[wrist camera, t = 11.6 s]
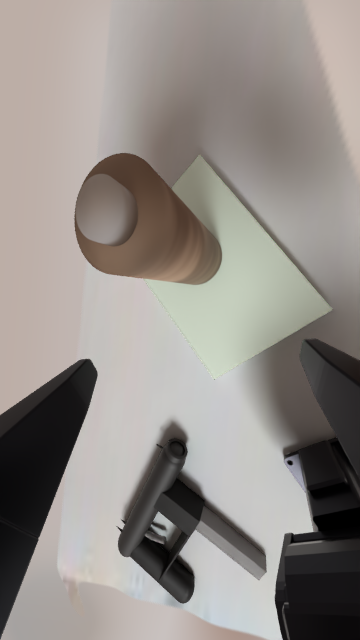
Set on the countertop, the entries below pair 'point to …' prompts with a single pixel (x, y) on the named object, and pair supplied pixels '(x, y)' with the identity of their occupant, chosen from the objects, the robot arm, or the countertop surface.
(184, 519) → the door handle
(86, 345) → the countertop surface
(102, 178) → the brown capped cylinder
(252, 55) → the countertop surface
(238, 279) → the serving board
